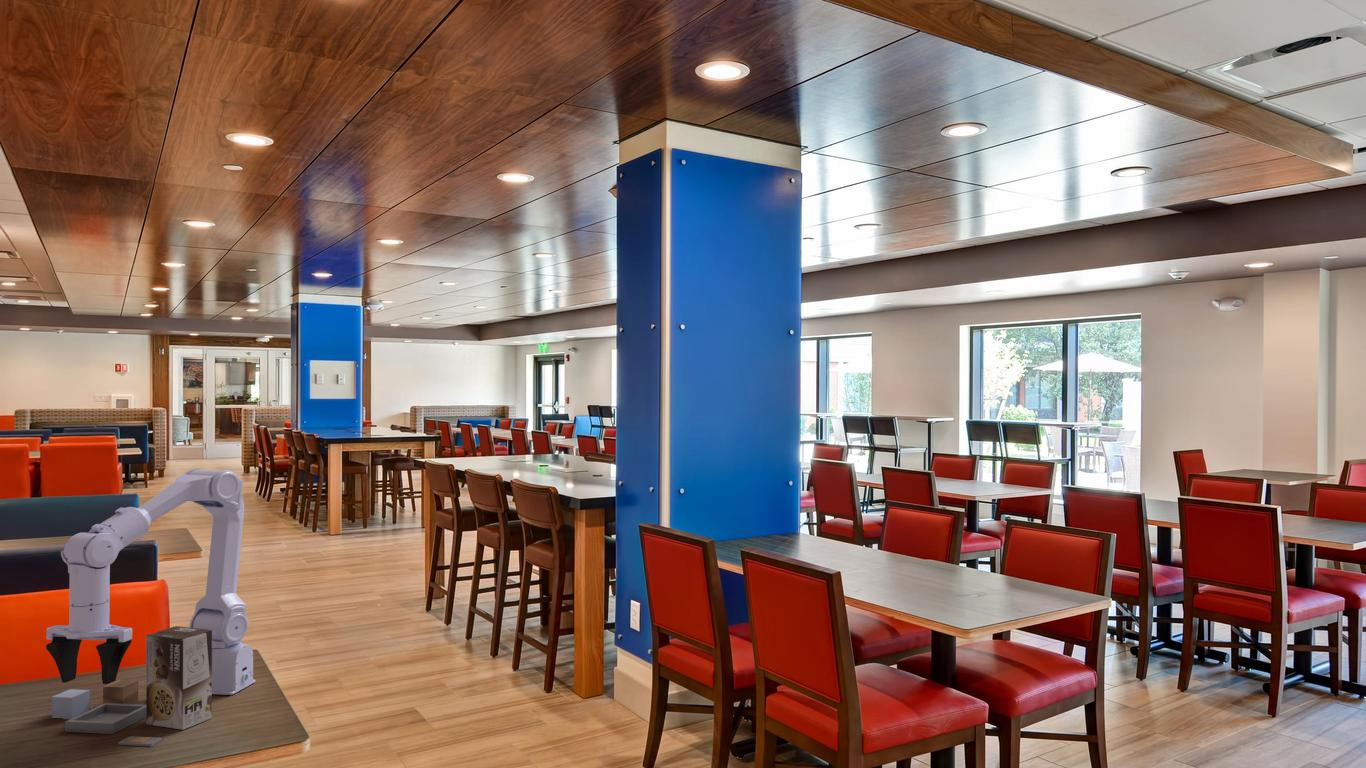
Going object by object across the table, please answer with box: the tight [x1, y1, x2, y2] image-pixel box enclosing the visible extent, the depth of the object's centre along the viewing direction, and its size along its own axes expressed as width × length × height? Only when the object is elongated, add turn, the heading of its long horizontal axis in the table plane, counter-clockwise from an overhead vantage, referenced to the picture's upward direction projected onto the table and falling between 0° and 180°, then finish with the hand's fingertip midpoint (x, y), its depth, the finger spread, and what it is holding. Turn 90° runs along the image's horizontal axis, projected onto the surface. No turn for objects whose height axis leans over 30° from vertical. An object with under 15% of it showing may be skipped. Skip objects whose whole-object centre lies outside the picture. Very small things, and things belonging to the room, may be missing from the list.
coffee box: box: [145, 625, 213, 731], centre depth 154 cm, size 9×6×16 cm
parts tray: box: [64, 703, 146, 735], centre depth 153 cm, size 9×9×2 cm
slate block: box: [51, 688, 91, 720], centre depth 157 cm, size 4×4×4 cm
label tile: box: [117, 735, 164, 747], centre depth 144 cm, size 6×3×1 cm, turn 84°
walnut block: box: [102, 679, 139, 704], centre depth 162 cm, size 4×4×4 cm
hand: (88, 681), depth 147 cm, fingers open, 7 cm apart
